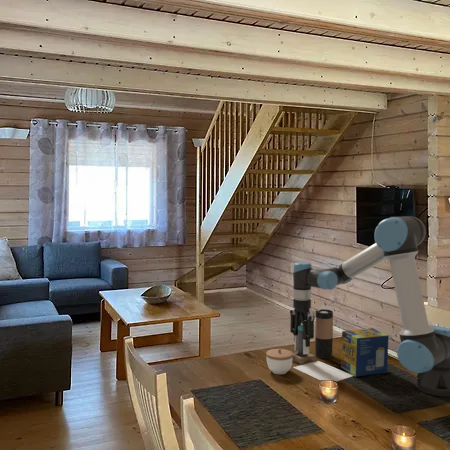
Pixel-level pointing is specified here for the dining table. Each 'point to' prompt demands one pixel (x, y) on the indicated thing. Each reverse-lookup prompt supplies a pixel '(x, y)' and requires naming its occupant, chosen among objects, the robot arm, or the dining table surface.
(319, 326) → the travel mug
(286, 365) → the lidded jar
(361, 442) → the dining table surface
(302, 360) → the pen holder
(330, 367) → the paper
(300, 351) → the marker
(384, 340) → the protein box
